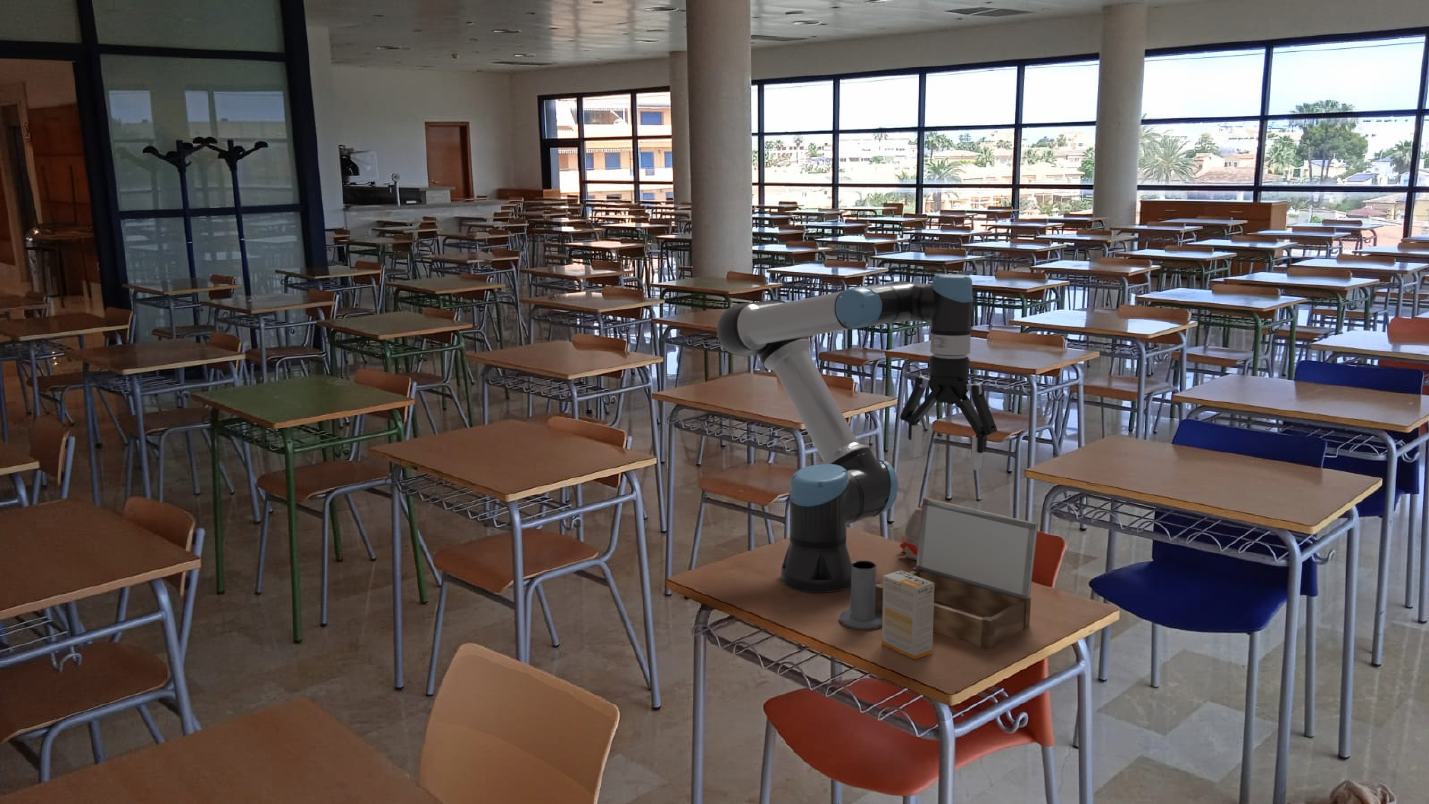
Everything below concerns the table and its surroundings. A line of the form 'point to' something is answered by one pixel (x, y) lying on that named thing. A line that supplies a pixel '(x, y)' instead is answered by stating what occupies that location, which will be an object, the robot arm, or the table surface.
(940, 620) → the cold frame
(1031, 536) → the lid
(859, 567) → the grey cylindrical cup
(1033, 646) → the table surface
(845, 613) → the saucer
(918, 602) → the supplement box
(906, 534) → the figurine
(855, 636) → the table surface
